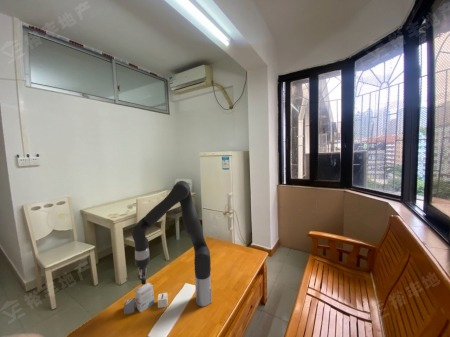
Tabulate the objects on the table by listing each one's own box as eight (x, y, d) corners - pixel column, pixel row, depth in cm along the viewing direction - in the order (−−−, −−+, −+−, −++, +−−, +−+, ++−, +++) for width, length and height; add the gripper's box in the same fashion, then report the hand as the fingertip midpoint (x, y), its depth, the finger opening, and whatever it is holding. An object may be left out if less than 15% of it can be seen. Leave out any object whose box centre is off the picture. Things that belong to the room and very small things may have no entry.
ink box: (150, 299, 116) (148, 281, 115) (154, 303, 113) (153, 285, 112) (136, 308, 110) (134, 289, 108) (140, 313, 106) (139, 294, 105)
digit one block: (167, 299, 115) (167, 292, 115) (166, 306, 110) (166, 298, 110) (159, 301, 114) (158, 293, 114) (158, 308, 109) (157, 300, 109)
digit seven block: (136, 305, 111) (135, 297, 111) (133, 312, 107) (133, 304, 106) (127, 307, 110) (126, 299, 110) (124, 314, 106) (123, 306, 105)
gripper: (147, 261, 102) (148, 291, 104) (151, 248, 115) (152, 275, 117) (132, 263, 100) (133, 293, 102) (137, 250, 113) (139, 276, 115)
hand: (143, 283), depth 109 cm, fingers closed
